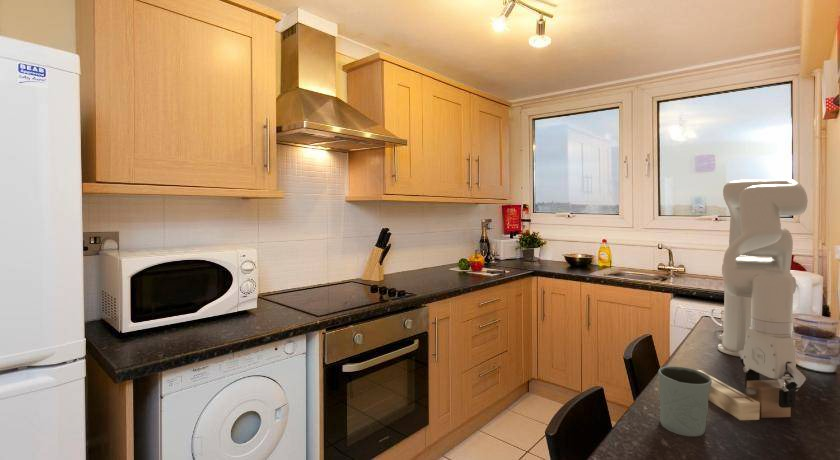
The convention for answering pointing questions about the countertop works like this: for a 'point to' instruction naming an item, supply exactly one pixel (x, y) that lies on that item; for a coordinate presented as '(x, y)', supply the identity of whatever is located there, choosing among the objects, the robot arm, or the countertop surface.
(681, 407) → the green cup
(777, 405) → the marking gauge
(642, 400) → the countertop surface
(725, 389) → the guide plank
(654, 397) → the countertop surface
